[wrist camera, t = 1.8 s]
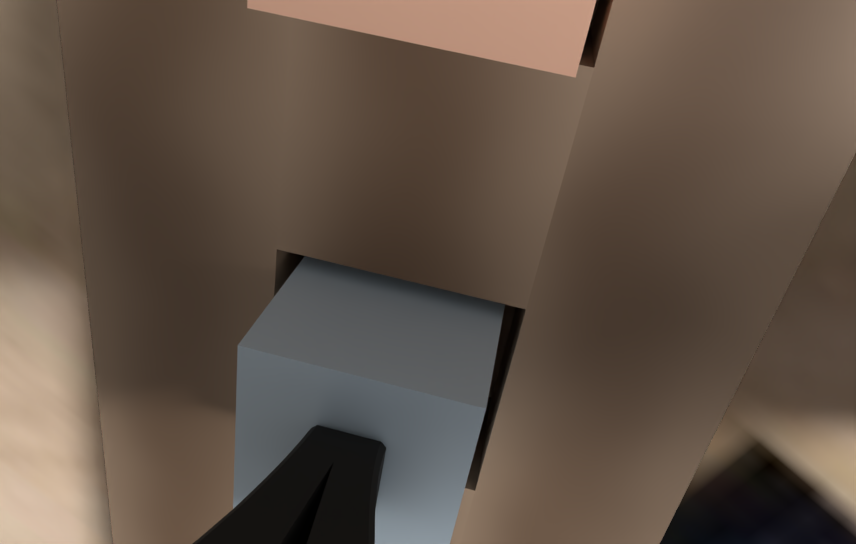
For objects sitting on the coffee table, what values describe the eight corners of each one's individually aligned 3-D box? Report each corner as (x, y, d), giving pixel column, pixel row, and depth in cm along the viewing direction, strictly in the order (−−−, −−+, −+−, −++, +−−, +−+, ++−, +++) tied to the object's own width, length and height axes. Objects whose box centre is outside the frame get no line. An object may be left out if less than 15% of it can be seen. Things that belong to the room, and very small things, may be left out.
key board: (1016, -459, 11) (1261, -654, 7) (537, 667, 26) (530, 801, 22) (170, -576, 12) (-27, -799, 8) (190, 568, 28) (127, 679, 24)
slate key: (505, 301, 15) (485, 408, 12) (466, 452, 17) (441, 574, 14) (306, 253, 15) (238, 344, 12) (293, 406, 17) (233, 516, 14)
